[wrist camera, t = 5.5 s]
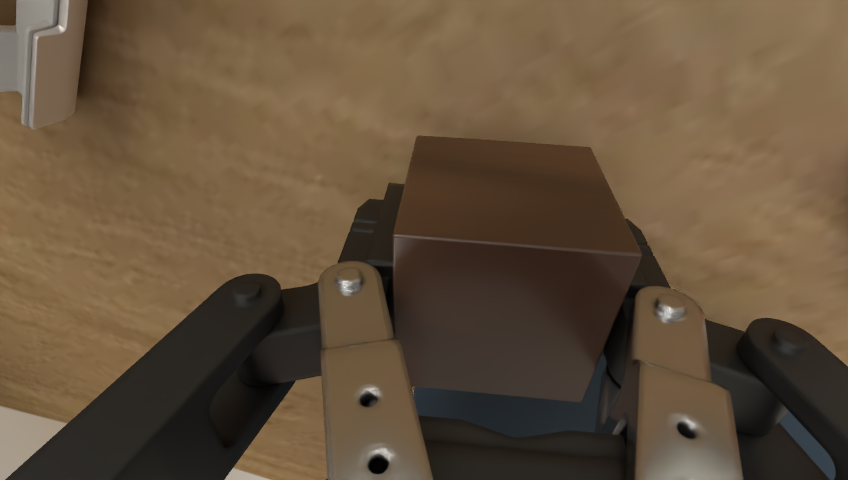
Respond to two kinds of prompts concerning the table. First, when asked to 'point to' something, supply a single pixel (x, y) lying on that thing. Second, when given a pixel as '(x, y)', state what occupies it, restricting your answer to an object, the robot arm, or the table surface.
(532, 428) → the sorter box
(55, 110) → the tablet stand
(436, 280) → the walnut block
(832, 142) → the table surface
